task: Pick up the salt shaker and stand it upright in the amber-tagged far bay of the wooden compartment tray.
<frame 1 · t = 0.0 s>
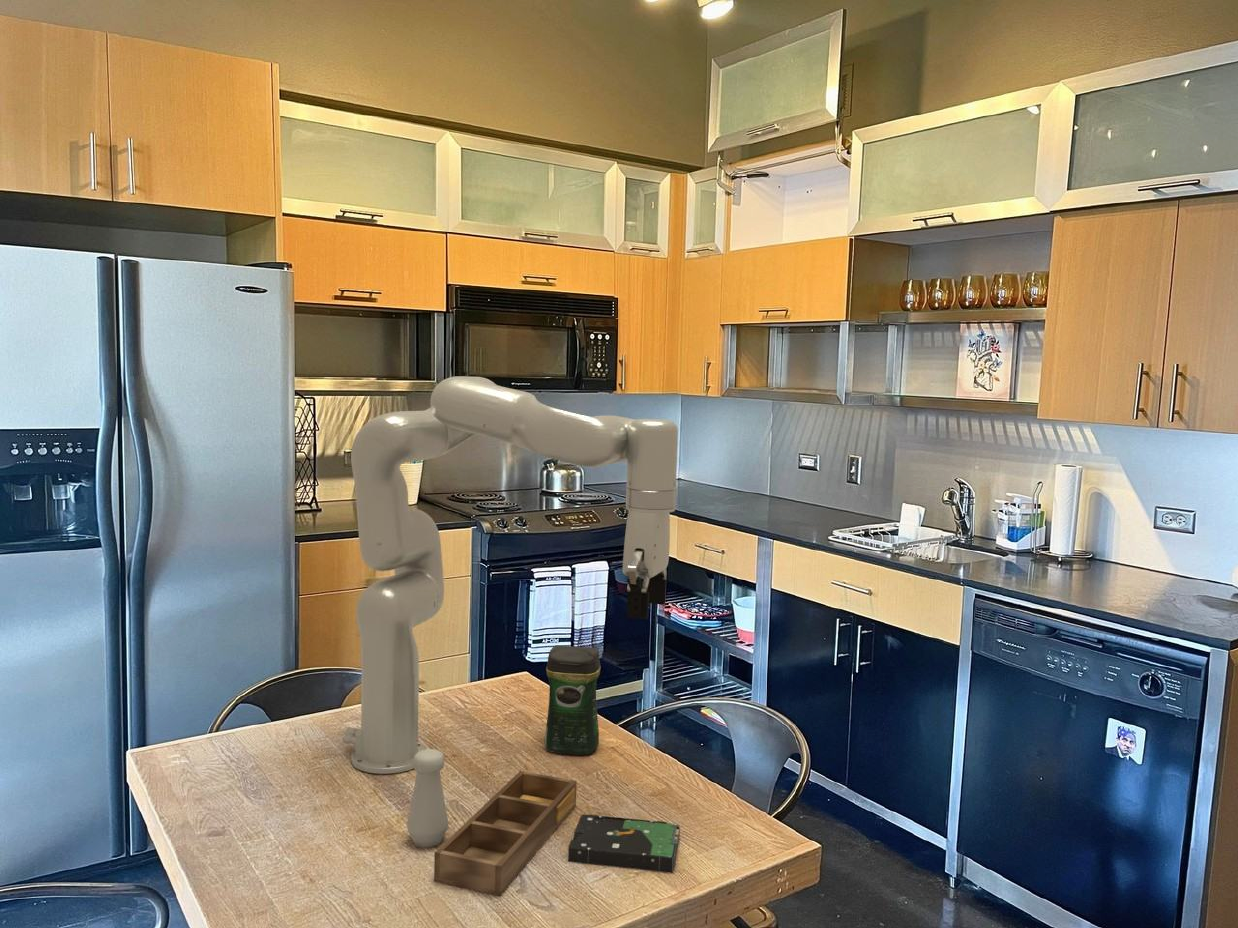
hand: (646, 610, 142), 31 cm above the table, tool pointing down, fingers open, 9 cm apart
coffee jar: (571, 748, 167), on the table
disk drive: (625, 853, 132), on the table
wooden compartment tray: (511, 839, 133), on the table
salt shaker: (427, 841, 132), on the table
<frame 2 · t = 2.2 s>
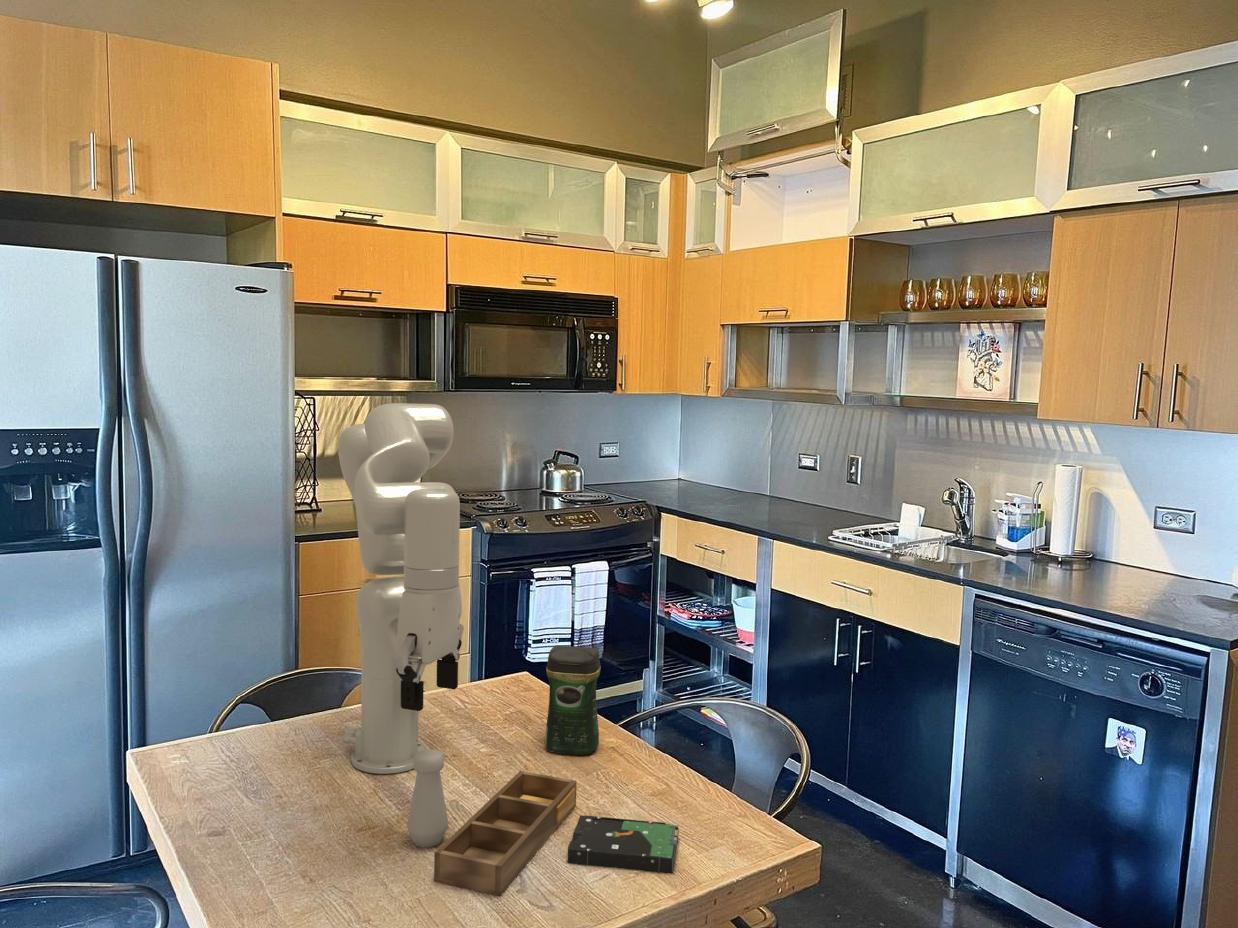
hand: (430, 698, 130), 21 cm above the table, tool pointing down, fingers open, 9 cm apart
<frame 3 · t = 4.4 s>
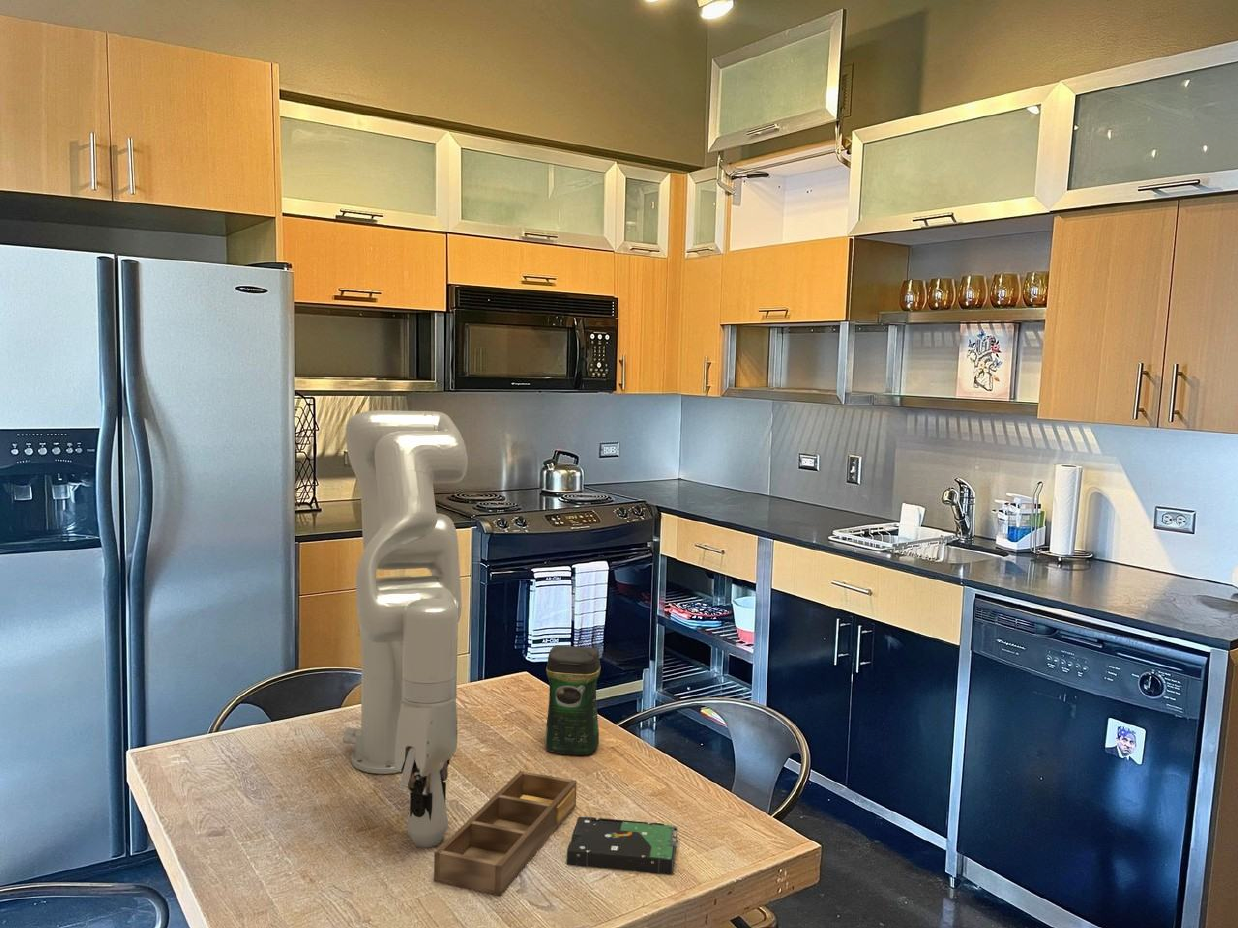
hand: (427, 812, 132), 4 cm above the table, tool pointing down, fingers closed on salt shaker, 3 cm apart
salt shaker: (427, 841, 132), on the table, touching gripper
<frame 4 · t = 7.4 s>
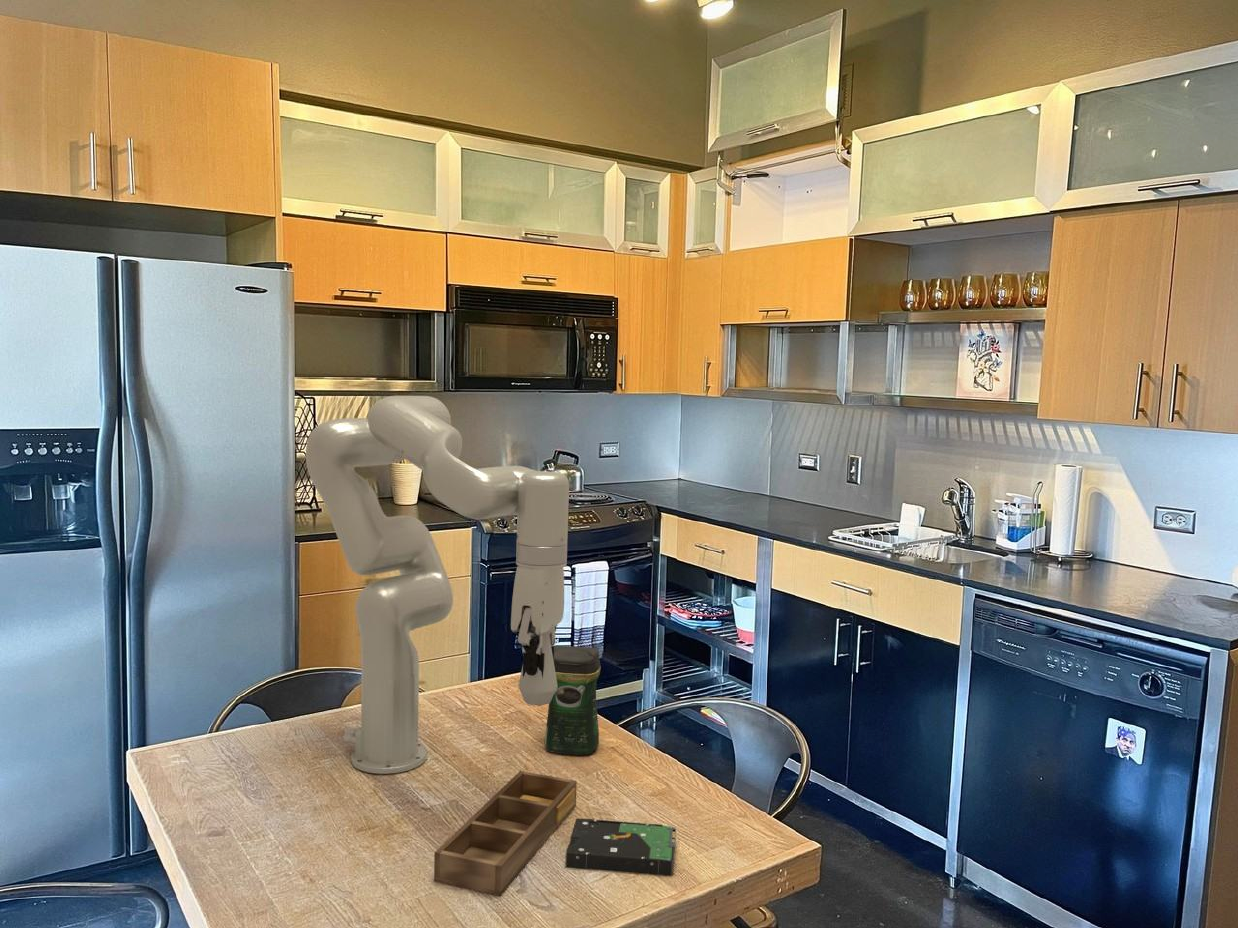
hand: (538, 673, 139), 22 cm above the table, tool pointing down, fingers closed on salt shaker, 3 cm apart
salt shaker: (537, 702, 140), point 18 cm above the table, touching gripper
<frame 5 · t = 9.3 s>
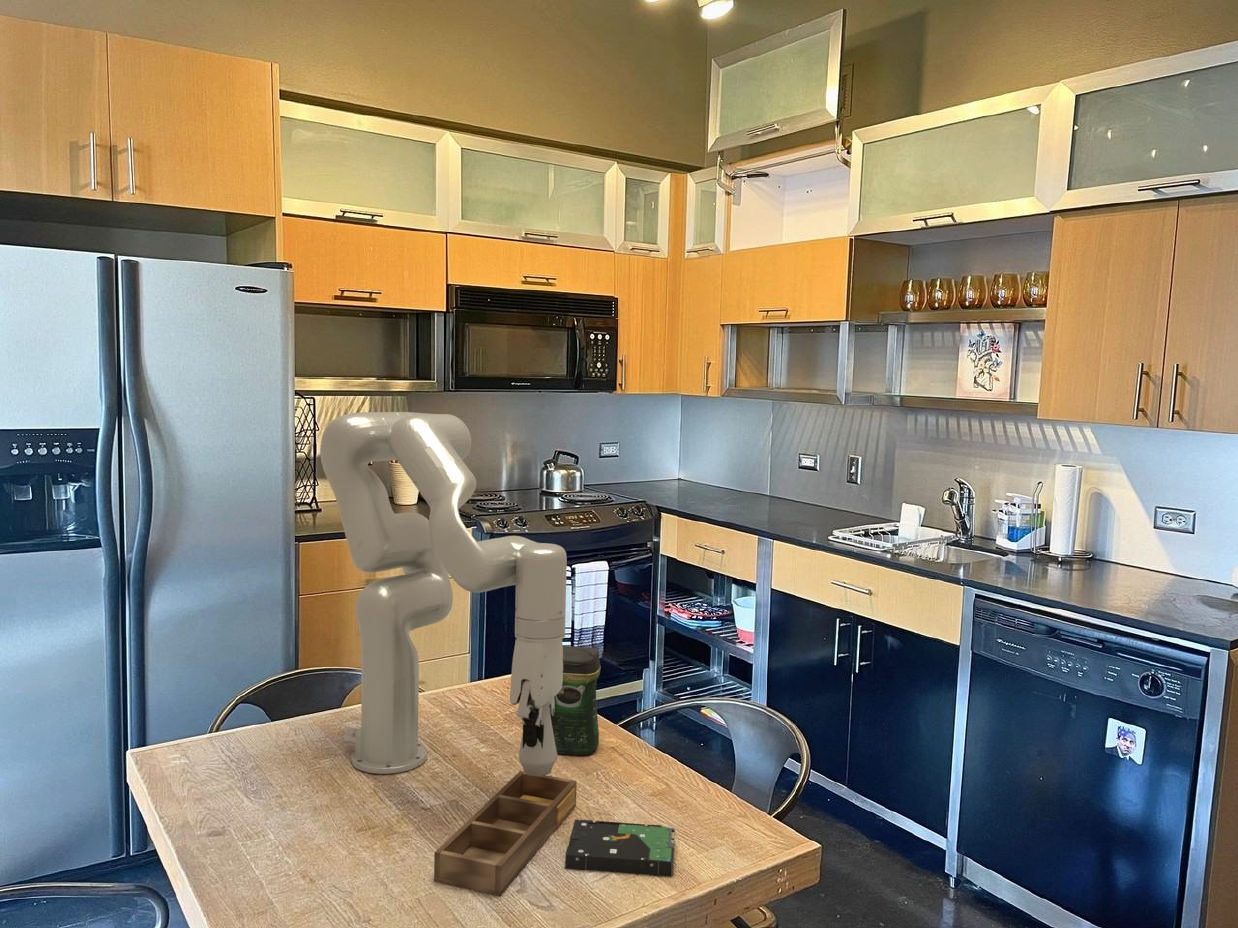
hand: (537, 743, 140), 11 cm above the table, tool pointing down, fingers closed on salt shaker, 3 cm apart
salt shaker: (537, 772, 141), point 7 cm above the table, touching gripper
when the fingers open (6 cm above the table, at t = 10.6 s): salt shaker stays where it is, resting on wooden compartment tray.
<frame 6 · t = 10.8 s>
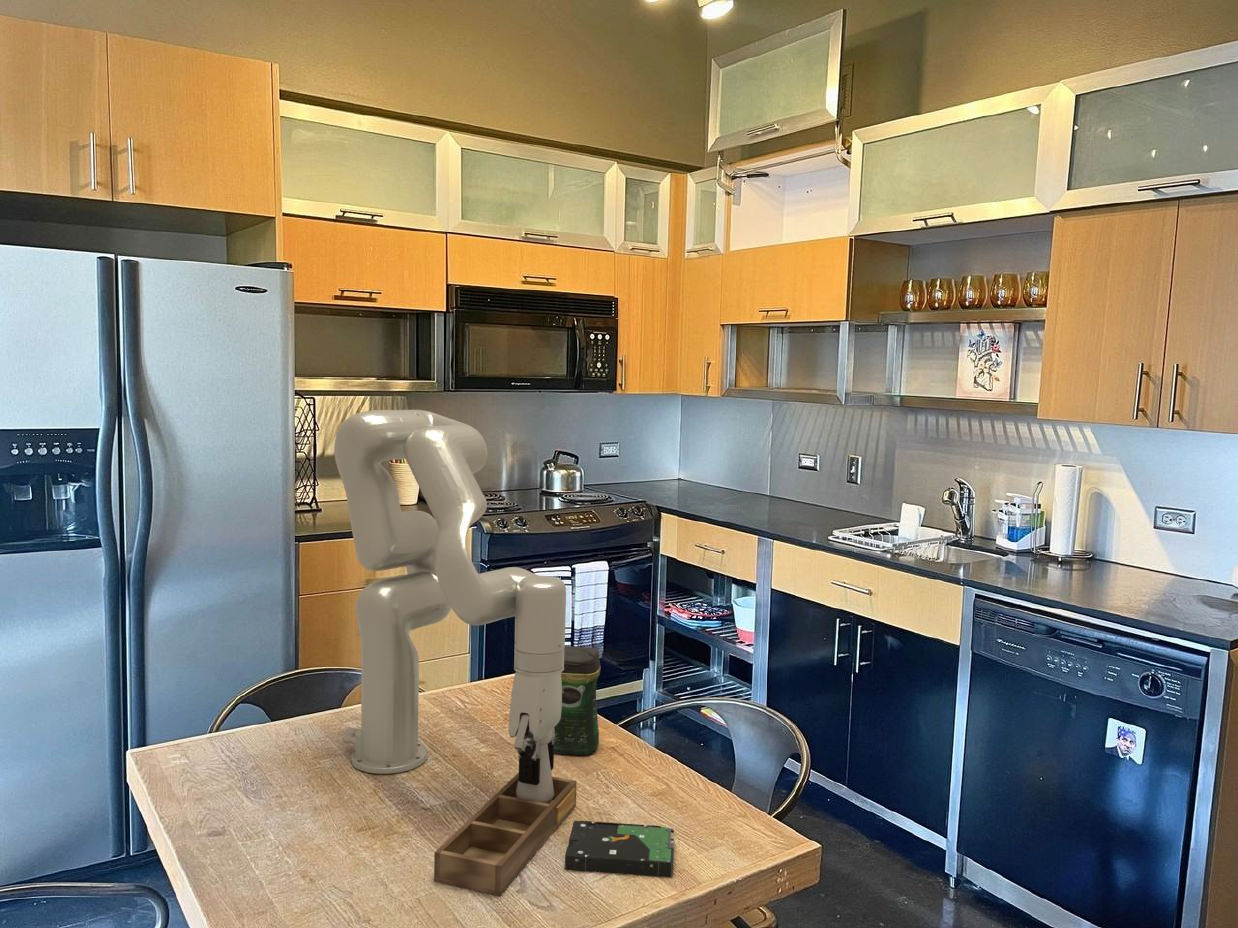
hand: (536, 774, 141), 6 cm above the table, tool pointing down, fingers open, 4 cm apart
salt shaker: (534, 809, 141), point 1 cm above the table, touching wooden compartment tray
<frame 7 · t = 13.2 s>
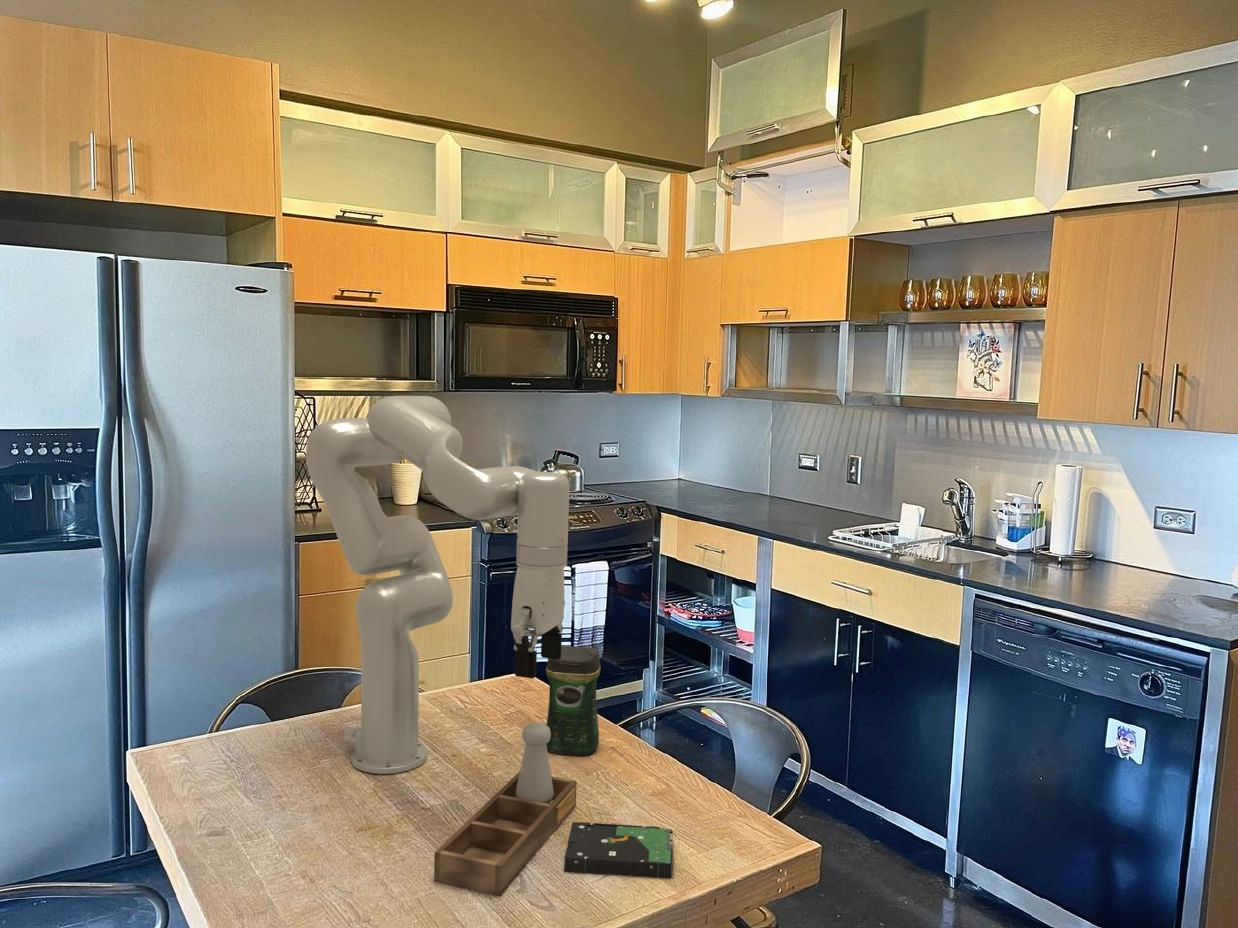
hand: (538, 667, 139), 23 cm above the table, tool pointing down, fingers open, 9 cm apart
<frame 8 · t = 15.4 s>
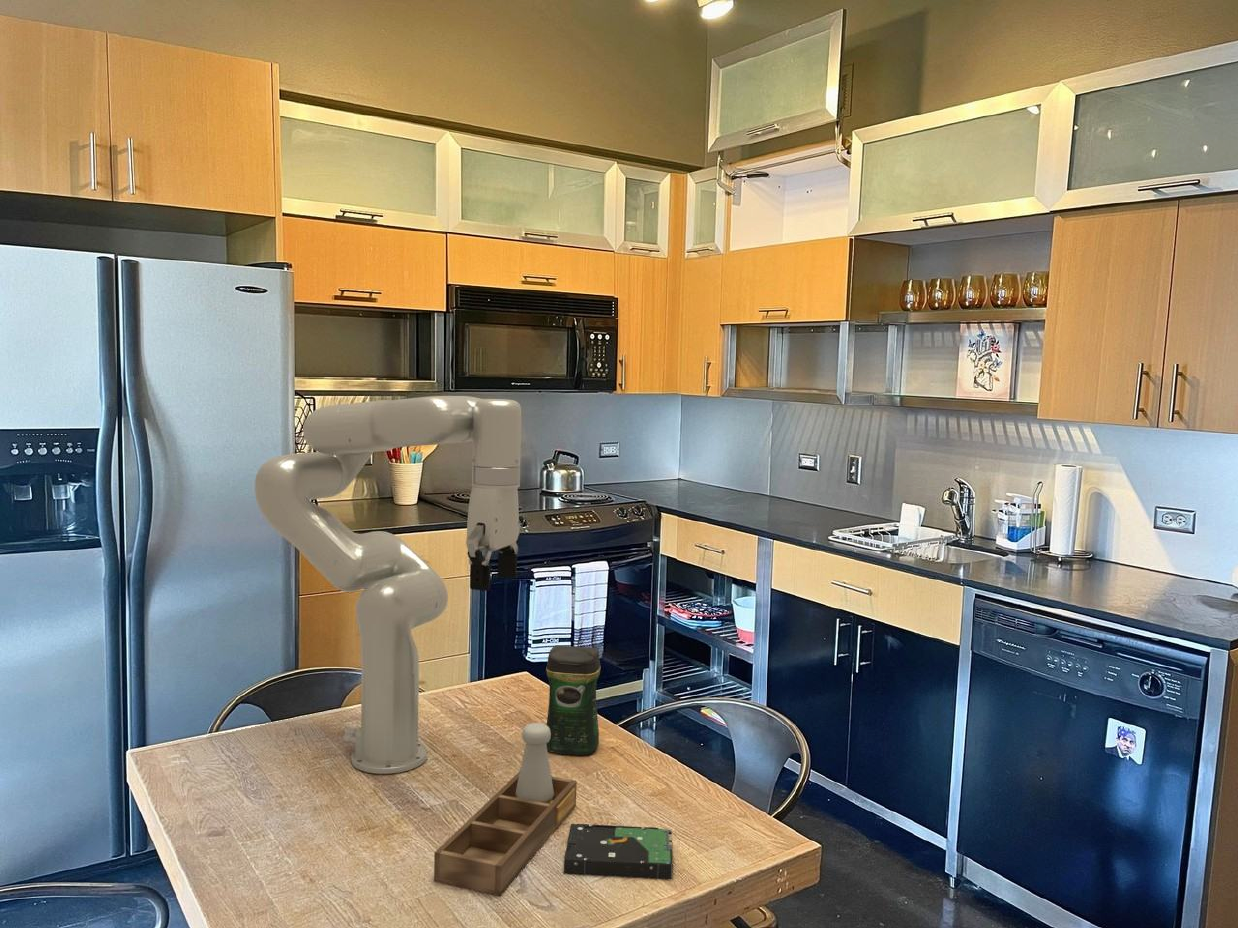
hand: (493, 583, 148), 33 cm above the table, tool pointing down, fingers open, 9 cm apart
at the end: salt shaker 0.1 cm from the target spot, point 0.6 cm above the table; salt shaker tilted 0°; the gripper is holding nothing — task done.
